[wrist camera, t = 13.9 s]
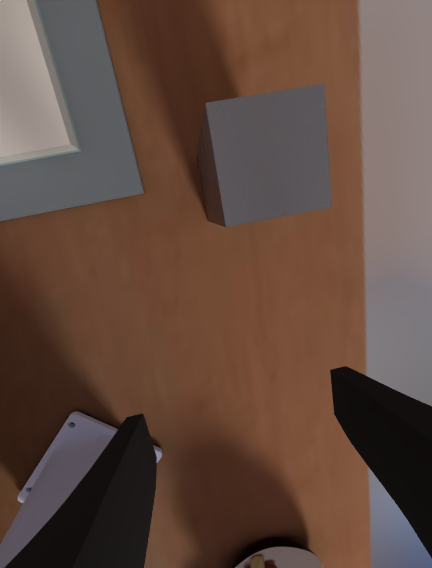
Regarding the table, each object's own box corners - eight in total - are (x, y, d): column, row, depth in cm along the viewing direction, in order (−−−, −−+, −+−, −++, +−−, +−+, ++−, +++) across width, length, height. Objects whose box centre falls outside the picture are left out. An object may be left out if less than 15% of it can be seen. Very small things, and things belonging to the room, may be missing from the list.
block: (265, 210, 19) (331, 207, 10) (208, 221, 19) (225, 227, 10) (257, 147, 18) (324, 83, 9) (196, 158, 17) (205, 102, 9)
